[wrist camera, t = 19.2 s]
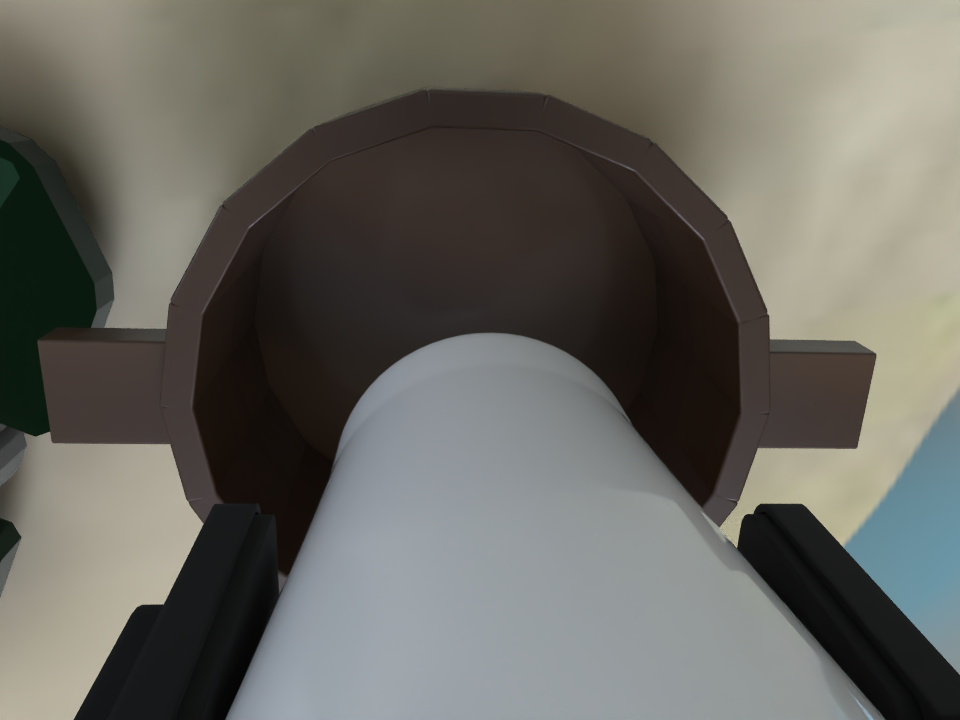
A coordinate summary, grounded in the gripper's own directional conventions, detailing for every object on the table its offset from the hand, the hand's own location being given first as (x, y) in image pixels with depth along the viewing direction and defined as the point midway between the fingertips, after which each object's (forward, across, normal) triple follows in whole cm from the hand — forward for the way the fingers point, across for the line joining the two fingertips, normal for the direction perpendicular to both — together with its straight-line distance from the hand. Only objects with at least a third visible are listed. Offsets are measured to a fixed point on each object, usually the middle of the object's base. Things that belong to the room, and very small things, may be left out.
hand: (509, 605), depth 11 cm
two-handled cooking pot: (+14, 0, 0) cm, 14 cm away
